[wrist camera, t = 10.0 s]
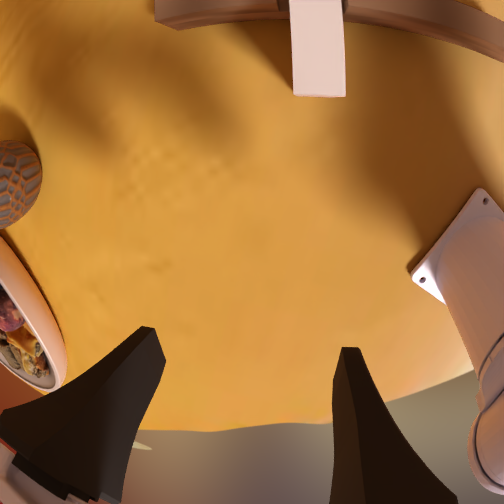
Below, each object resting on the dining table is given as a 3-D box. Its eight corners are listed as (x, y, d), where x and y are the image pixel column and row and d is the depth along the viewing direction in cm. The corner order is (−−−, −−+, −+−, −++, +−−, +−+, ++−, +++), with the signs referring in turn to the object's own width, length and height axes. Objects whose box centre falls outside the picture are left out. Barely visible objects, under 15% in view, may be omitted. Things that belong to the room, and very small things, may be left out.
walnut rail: (500, 38, 9) (527, 34, 6) (502, 62, 10) (530, 62, 7) (177, 5, 12) (154, -8, 9) (178, 30, 13) (154, 21, 10)
